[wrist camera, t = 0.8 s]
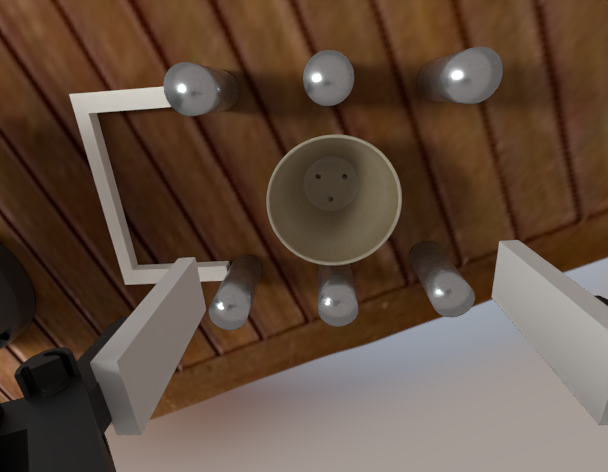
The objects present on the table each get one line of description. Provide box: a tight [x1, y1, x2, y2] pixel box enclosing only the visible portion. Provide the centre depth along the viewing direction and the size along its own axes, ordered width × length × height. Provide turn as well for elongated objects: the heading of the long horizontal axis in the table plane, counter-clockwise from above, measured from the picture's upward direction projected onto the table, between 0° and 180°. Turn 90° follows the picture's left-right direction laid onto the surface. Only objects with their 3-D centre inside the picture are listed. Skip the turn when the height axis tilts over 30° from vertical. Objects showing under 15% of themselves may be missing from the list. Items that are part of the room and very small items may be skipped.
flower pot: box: [266, 134, 402, 265], centre depth 30 cm, size 10×10×7 cm
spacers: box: [163, 47, 503, 330], centre depth 29 cm, size 21×20×8 cm
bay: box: [69, 87, 230, 285], centre depth 33 cm, size 11×18×1 cm, turn 4°
